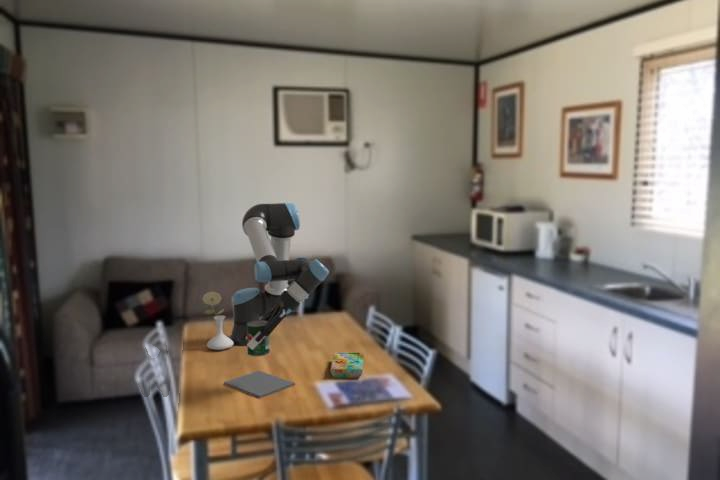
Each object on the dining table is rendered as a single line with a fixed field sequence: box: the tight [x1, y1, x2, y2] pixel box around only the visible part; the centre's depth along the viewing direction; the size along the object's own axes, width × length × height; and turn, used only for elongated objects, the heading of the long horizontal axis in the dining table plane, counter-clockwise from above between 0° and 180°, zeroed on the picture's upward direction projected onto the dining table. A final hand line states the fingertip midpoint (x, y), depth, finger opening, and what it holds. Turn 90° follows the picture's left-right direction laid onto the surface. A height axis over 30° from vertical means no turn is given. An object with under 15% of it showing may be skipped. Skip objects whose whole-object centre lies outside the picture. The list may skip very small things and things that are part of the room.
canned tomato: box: [246, 319, 271, 357], centre depth 206 cm, size 8×8×11 cm
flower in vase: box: [201, 290, 235, 351], centre depth 250 cm, size 13×11×25 cm
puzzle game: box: [330, 352, 365, 379], centre depth 224 cm, size 12×5×20 cm
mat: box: [223, 370, 296, 399], centre depth 208 cm, size 20×16×1 cm
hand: (248, 343), depth 205 cm, fingers closed on canned tomato, 8 cm apart
